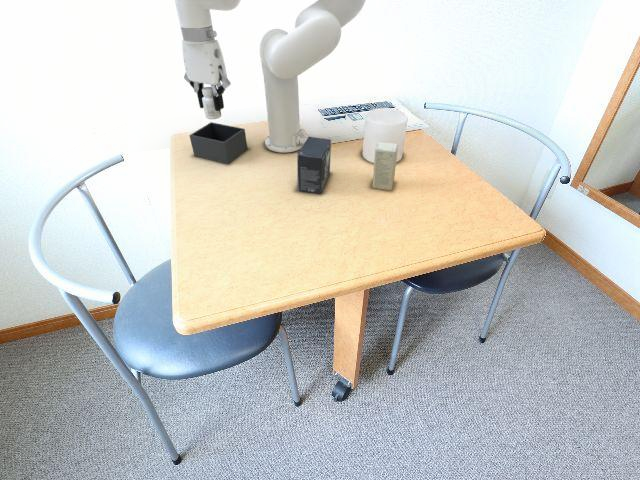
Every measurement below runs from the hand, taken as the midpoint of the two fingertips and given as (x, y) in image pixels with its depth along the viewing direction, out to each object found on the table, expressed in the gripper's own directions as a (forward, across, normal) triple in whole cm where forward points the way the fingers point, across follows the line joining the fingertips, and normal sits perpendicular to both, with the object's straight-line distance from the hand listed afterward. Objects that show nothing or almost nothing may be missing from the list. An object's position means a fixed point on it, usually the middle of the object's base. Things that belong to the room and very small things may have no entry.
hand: (212, 107), depth 102 cm
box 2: (+14, -50, -2) cm, 52 cm away
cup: (+14, -45, -18) cm, 51 cm away
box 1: (+14, -33, +4) cm, 36 cm away
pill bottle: (+3, 0, 0) cm, 3 cm away
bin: (+14, 0, 0) cm, 14 cm away
